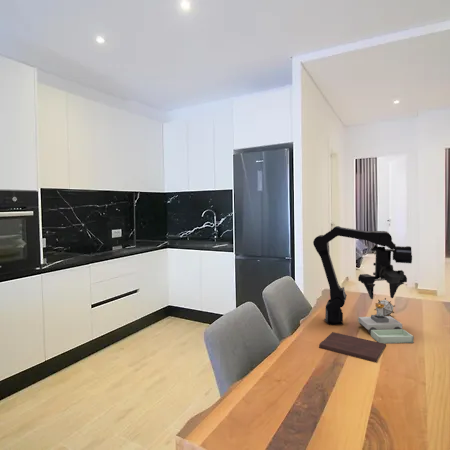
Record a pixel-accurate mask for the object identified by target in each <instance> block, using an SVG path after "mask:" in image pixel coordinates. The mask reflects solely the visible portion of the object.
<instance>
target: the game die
mask: <svg viewBox="0 0 450 450" xmlns="http://www.w3.org/2000/svg"><path fill="white" fill-rule="evenodd" d="M376 303H382V304H384V307H383V315H384V316H391V317H392V314H395V311H394V307H396V305H393V303H392V300H390V301H389V300H387V298H386V297H385V298H384V299H381V300H380V299H378V302H375V303H374V305H375V304H376ZM373 311H377V307H376V306H375V308H374V310H373Z"/></svg>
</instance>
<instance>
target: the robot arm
mask: <svg viewBox="0 0 450 450" xmlns="http://www.w3.org/2000/svg"><path fill="white" fill-rule="evenodd" d="M337 237H342V238H343V237H344V238H351V239H355V240H363V241H368V242H370V243H372V244H374V245H373V246H372V247H371V249H370V250H371V252H373V251H374V252H375V260H374V261H375V262H373V264H372V265H373V266H375V267H374V272H372V275H371V274H368V273H361V274H359V275H358V277H357V278H358V279H357V280H358V281H359V282H360V283H361V284H363V286H364V287H365V290H366V291H367V293H368V296H369V298H370V299H371V300H373V299H374V288H375V286H376V284H375V282H376V281H377V282H379V281H381V282H382V281H386V283H388V284H389V295H390V298H391V299H393V298H394V297H395V296H396V293H397V291H398V288H399V287H401V286H402V285H404V284H405V283H407V282H408V278H407V276H406V275H405V271H403V270H402V269H401V270H398V269H397V270H395V269H394V265H393V264H391V263H392V260H393V261H395V263H397V264H398V263H400V264H401V263H402V264H412V263H413V254H412V252H413V251H412V247H411V246H408V245H407V246H401V245H400V246H399V245H398V246H397V245H396V243H394V242H393V241H392V240H393V237H392V235H391V234H390V232H388V231H385V230H373V231H372V230H370V231H368V230H367V231H366V230H362V229H355V228H349V227H341V226H339V225H338V226H334V227H333V228H332V229H331V230H329V231H327V232H326V233H325V234H318V236H316V237H315V238H314V239H313V242H312V243H313V247H314V248H315V250H316V252H317V253H318V256H319V257H320V260H321V263H322V267H323V270H324V272H325V276H326V280H327V283H328V286H329V297H330V298H329V299H328V300H327V301H326V305H325V318H324V319H323V320H324V321H325V323H326V324H327V325H330V326H331V325H332V326H334V325H335V326H337V325H339V326H340V325H344V323H343V322H344V319H343V317H344V313H343V309H342V308H343V307H344V305H345V303H346V300H347V294H346V292H345V287H344V286H342V287H341V285H340V284H339V281H338V276H337V275H336V271H335V268H334V265H333V264H334V263H333V261H332V258H331V255H330V254H331V253H330V242H331V241H332V240H334V239H336V238H337ZM386 247H387V248H386Z"/></svg>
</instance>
